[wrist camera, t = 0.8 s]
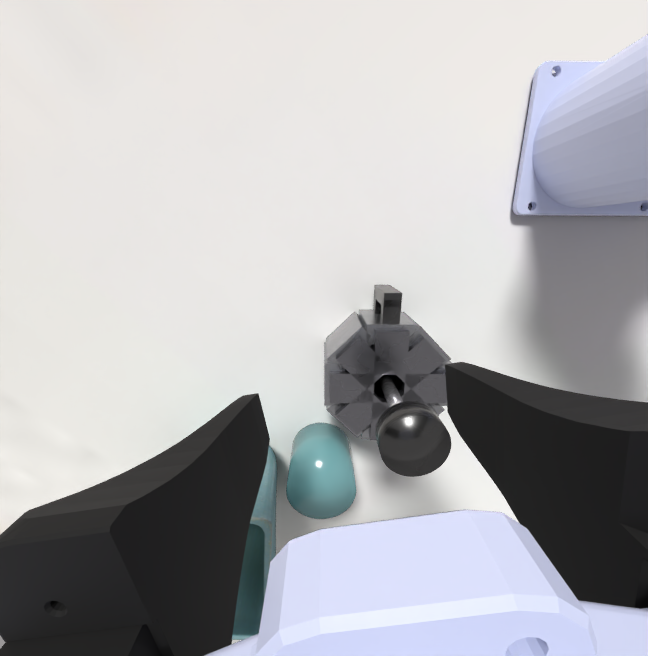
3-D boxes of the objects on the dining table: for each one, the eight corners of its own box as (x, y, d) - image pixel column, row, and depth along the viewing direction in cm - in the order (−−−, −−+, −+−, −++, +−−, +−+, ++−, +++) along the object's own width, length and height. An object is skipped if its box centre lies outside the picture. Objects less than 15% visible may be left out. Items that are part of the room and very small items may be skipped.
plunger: (412, 360, 18) (455, 416, 12) (408, 404, 19) (446, 476, 13) (363, 360, 18) (382, 415, 12) (361, 404, 19) (378, 476, 13)
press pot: (436, 284, 21) (465, 294, 16) (423, 407, 23) (445, 444, 19) (324, 283, 21) (325, 294, 16) (324, 407, 23) (324, 444, 19)
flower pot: (175, 413, 23) (89, 514, 15) (290, 418, 24) (272, 521, 15) (184, 505, 26) (114, 638, 17) (288, 508, 26) (271, 642, 17)
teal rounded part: (350, 422, 24) (357, 462, 19) (349, 471, 25) (354, 518, 21) (291, 422, 24) (285, 462, 19) (293, 471, 25) (287, 518, 21)
